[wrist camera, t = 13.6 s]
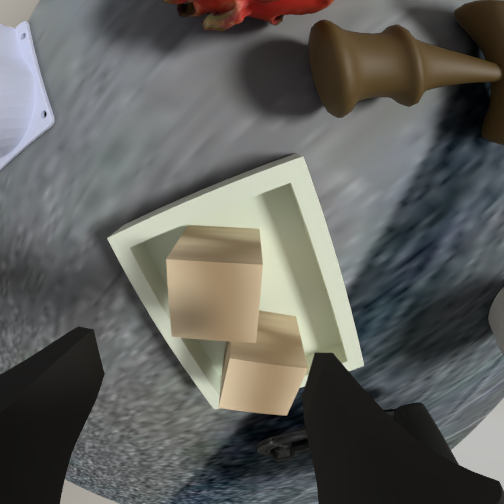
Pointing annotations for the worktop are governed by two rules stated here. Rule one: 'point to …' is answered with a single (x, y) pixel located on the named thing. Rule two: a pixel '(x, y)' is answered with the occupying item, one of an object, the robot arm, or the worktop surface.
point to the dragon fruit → (245, 10)
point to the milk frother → (406, 416)
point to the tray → (273, 255)
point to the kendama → (409, 64)
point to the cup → (498, 319)
